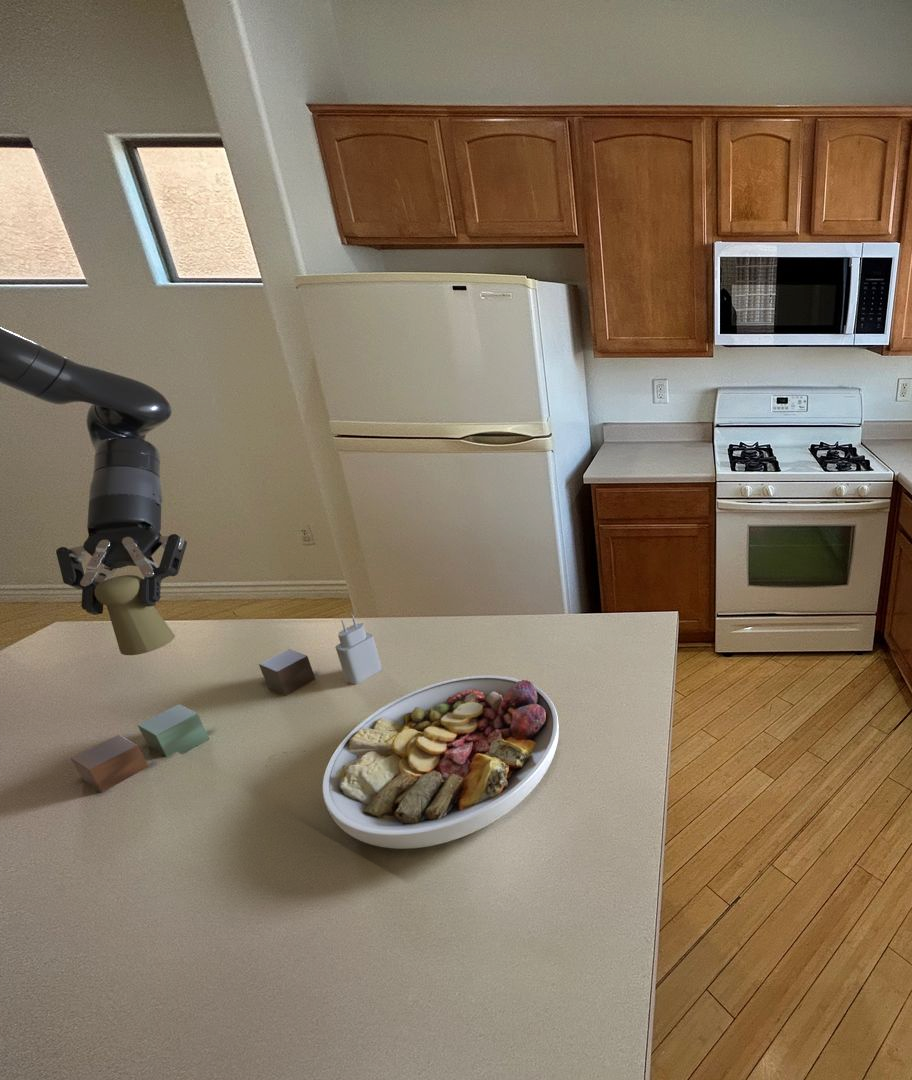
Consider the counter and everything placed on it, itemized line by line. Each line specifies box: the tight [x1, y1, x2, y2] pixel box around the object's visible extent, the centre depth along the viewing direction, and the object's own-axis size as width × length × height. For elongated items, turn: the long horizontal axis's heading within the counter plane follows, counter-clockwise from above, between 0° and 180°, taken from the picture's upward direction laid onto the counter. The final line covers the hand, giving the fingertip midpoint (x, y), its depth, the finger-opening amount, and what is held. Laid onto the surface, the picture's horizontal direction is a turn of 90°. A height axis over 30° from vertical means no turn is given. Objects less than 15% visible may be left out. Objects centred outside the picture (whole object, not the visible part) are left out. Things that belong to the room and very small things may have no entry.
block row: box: [70, 648, 316, 793], centre depth 86 cm, size 28×5×5 cm, turn 156°
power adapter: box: [334, 614, 383, 685], centre depth 97 cm, size 3×5×12 cm, turn 156°
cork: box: [94, 574, 176, 656], centre depth 81 cm, size 6×6×11 cm
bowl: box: [321, 675, 560, 850], centre depth 79 cm, size 30×30×8 cm
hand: (121, 608), depth 79 cm, fingers closed on cork, 5 cm apart
